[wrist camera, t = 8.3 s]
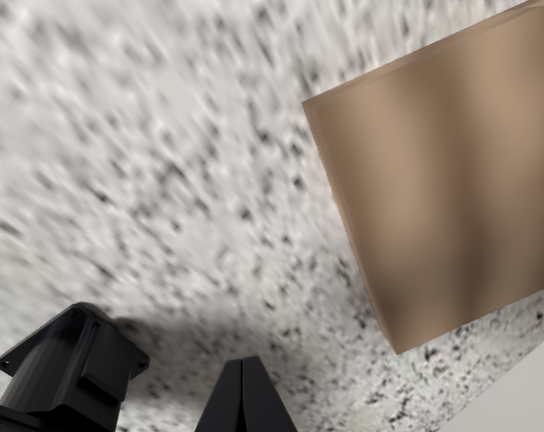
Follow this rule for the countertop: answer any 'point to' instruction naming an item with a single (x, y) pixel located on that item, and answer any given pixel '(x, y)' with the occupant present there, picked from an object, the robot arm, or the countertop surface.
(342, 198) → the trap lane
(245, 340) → the countertop surface
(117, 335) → the robot arm
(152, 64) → the countertop surface
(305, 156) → the countertop surface
